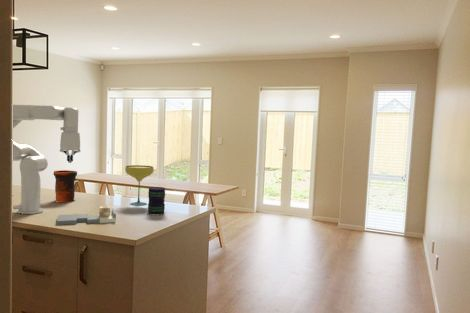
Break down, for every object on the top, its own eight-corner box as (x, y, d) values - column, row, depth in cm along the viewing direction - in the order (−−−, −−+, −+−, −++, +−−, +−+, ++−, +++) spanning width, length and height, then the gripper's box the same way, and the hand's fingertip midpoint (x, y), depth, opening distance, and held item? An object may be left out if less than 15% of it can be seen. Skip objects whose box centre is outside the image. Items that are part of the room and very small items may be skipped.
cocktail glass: (148, 201, 263) (149, 165, 261) (155, 206, 247) (156, 167, 245) (121, 202, 254) (123, 165, 253) (127, 207, 238) (128, 167, 237)
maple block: (99, 217, 199) (99, 208, 199) (100, 215, 204) (100, 206, 204) (108, 217, 200) (109, 208, 200) (109, 215, 205) (110, 206, 205)
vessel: (49, 199, 251) (50, 169, 250) (71, 198, 260) (72, 169, 259) (56, 203, 240) (57, 172, 239) (79, 202, 250) (80, 172, 249)
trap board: (57, 224, 188) (57, 216, 188) (58, 218, 201) (58, 210, 201) (115, 222, 199) (116, 213, 199) (113, 216, 212) (113, 208, 212)
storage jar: (144, 213, 223) (145, 188, 223) (153, 210, 233) (154, 186, 232) (158, 215, 220) (159, 189, 219) (167, 212, 229) (168, 187, 228)
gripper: (55, 129, 205) (54, 163, 206) (85, 130, 210) (84, 163, 212) (56, 129, 212) (55, 161, 213) (84, 130, 217) (84, 162, 218)
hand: (69, 162), depth 212 cm, fingers closed
